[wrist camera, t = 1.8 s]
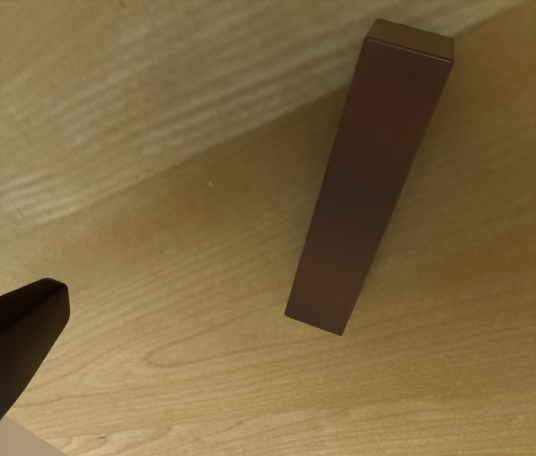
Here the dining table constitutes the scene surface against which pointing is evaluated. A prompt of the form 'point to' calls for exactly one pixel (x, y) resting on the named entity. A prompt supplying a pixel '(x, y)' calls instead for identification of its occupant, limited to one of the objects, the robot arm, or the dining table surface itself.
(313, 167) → the dining table surface
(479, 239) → the dining table surface
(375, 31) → the stick
